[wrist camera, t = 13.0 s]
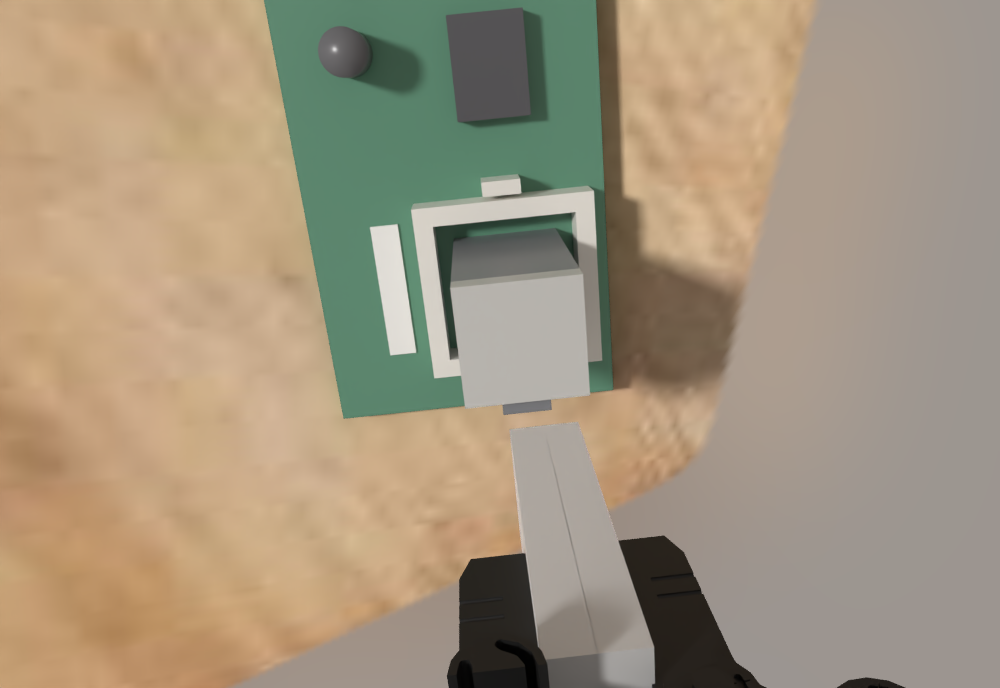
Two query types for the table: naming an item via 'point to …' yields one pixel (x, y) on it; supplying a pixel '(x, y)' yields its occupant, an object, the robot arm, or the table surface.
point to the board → (437, 170)
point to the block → (519, 320)
